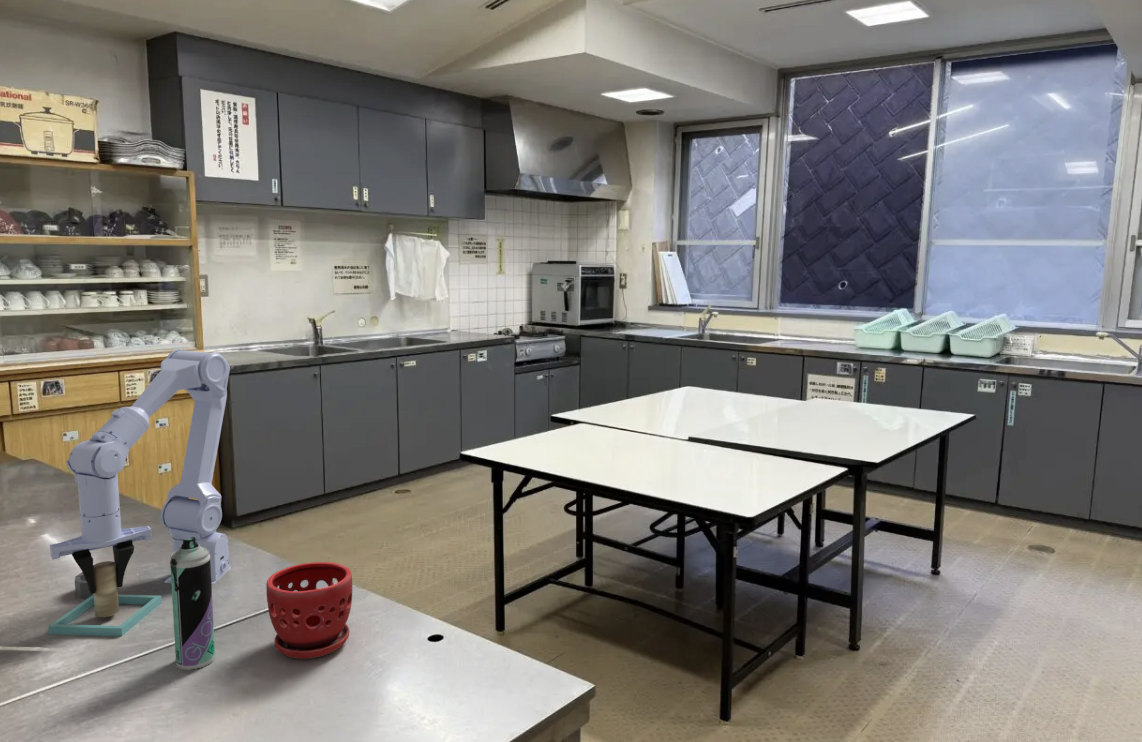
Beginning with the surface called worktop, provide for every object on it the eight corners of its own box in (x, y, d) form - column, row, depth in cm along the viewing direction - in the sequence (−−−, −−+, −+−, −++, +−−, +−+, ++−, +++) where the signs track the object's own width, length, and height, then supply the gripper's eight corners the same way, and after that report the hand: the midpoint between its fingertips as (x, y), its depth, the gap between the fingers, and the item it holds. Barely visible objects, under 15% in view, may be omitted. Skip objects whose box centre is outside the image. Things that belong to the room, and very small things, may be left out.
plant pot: (369, 633, 129) (368, 566, 127) (318, 673, 117) (316, 599, 115) (305, 619, 133) (303, 553, 131) (250, 655, 121) (247, 584, 119)
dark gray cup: (126, 585, 144) (124, 568, 144) (104, 601, 138) (103, 583, 137) (91, 584, 144) (89, 567, 144) (67, 600, 138) (66, 582, 137)
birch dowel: (122, 606, 133) (118, 560, 132) (114, 616, 130) (111, 569, 128) (99, 608, 132) (96, 561, 131) (91, 617, 129) (88, 570, 127)
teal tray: (161, 605, 137) (161, 595, 137) (122, 638, 125) (121, 628, 125) (94, 603, 137) (94, 593, 137) (49, 636, 125) (48, 626, 125)
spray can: (199, 672, 116) (192, 546, 113) (167, 667, 117) (160, 543, 114) (222, 654, 121) (216, 533, 118) (192, 649, 122) (185, 530, 119)
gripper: (142, 497, 136) (147, 569, 138) (44, 513, 126) (51, 591, 128) (152, 507, 131) (157, 582, 133) (51, 526, 121) (57, 606, 123)
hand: (105, 588), depth 130 cm, fingers closed on birch dowel, 3 cm apart
